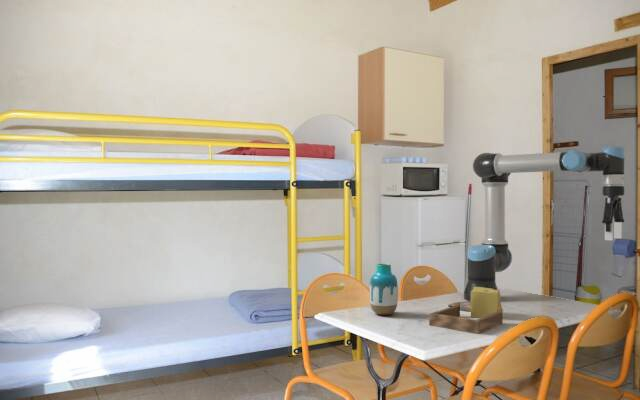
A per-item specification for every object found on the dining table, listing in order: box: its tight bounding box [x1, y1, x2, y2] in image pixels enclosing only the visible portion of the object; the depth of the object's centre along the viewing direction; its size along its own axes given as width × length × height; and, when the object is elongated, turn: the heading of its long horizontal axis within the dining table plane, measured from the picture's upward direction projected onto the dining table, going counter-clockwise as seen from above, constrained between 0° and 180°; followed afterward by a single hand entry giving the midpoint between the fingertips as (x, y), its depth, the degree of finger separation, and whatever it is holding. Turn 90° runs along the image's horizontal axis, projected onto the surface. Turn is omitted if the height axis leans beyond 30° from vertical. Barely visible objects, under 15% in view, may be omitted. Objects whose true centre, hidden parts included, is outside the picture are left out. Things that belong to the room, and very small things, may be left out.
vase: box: [369, 263, 399, 316], centre depth 204 cm, size 11×11×19 cm
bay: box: [428, 301, 504, 335], centre depth 188 cm, size 18×20×5 cm
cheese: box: [470, 287, 503, 319], centre depth 202 cm, size 10×11×10 cm
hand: (613, 239), depth 211 cm, fingers open, 13 cm apart
